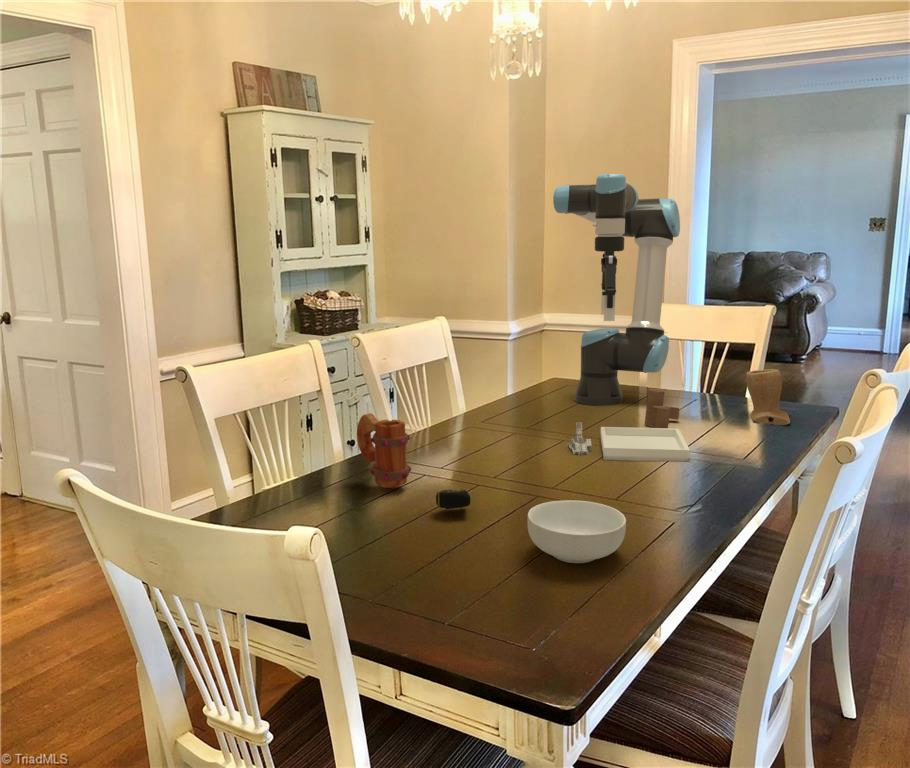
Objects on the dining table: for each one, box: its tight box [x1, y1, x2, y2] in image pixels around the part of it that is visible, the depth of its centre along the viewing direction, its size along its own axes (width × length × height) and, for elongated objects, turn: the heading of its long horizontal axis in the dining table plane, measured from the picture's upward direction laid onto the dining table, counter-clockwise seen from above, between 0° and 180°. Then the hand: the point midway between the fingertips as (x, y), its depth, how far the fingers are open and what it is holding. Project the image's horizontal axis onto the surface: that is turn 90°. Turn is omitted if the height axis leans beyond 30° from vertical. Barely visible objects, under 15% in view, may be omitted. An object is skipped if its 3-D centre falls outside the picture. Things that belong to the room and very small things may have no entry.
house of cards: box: [567, 421, 592, 456], centre depth 195 cm, size 9×9×8 cm
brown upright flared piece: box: [745, 368, 791, 426], centre depth 221 cm, size 15×12×15 cm
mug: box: [356, 412, 412, 489], centre depth 173 cm, size 15×8×15 cm, turn 47°
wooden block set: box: [644, 387, 680, 428], centre depth 215 cm, size 18×9×10 cm, turn 160°
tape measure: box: [435, 489, 472, 511], centre depth 156 cm, size 7×7×4 cm
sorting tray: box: [600, 426, 691, 462], centre depth 196 cm, size 20×20×3 cm
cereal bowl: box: [526, 499, 627, 564], centre depth 135 cm, size 17×17×7 cm
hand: (607, 317), depth 207 cm, fingers open, 13 cm apart
